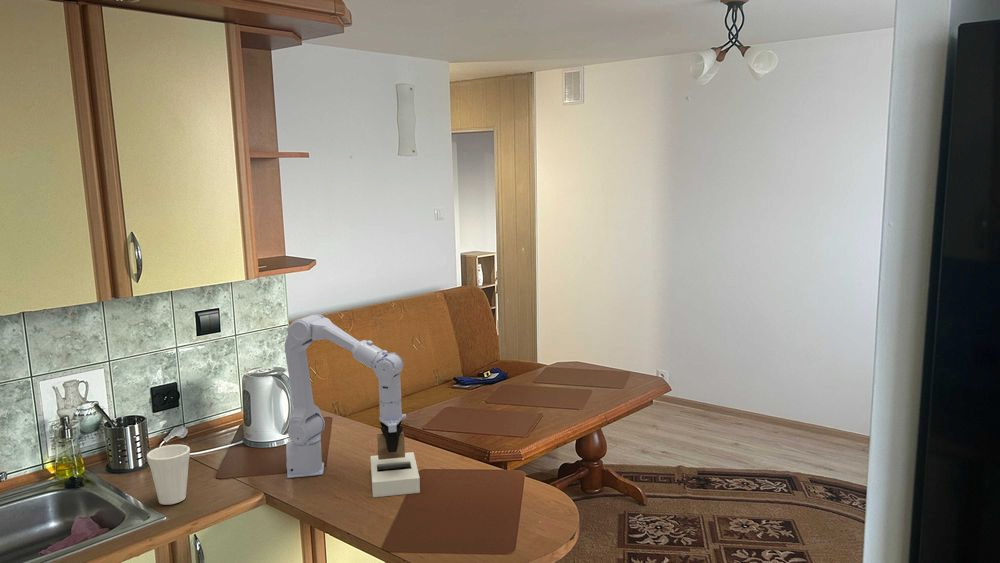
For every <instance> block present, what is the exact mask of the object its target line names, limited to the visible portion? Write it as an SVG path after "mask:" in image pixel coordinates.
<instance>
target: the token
mask: <svg viewBox="0 0 1000 563" xmlns="http://www.w3.org/2000/svg"><path fill="white" fill-rule="evenodd" d="M376 436H377V437H376V438H377V455H378V460H381V459H392V458H403V457H405V453H406V450H405V448H406V447H405V432H404V431H402V432H401V434H400V436H399V440H398V447H397V451H396V452H388V449H387V444H386V440H385V437H384V435H383V433H377V434H376Z"/></svg>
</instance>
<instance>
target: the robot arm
mask: <svg viewBox="0 0 1000 563" xmlns="http://www.w3.org/2000/svg"><path fill="white" fill-rule="evenodd" d="M286 332H287V334H286V339H285V342H284V354H285V361H286V366H287V372H288V378H289V379H288V380H289V385H290V386H289V387H290V392H291V399H292V406H293V408H292V409H293V410H292V411H291V414H290V416H289V418H288V421H289V423H288V424H289V426H288V429H287V436H288V438H289V440H290V441H287V442H286V448H285V453H286V454H285V456H286V464H285V465H286V466H285V467H286V474H287V475H286V478H287V479H291V478H303V477H304V478H305V477H313V476H322V475H323V474H324V468H325V462H323V460H322V457H323V456H322V442H321V441H322V438H321V437H322V432H323V431H324V429H325V428H326V427H325V426H326V424H325V423H326V422H325V419H324V417H323V415H322V414H321V409H320V407H318V406H317V405H316V404H315V402H314V395H313V389H312V382H311V376H310V369H309V362H308V356H307V349H308V347H309V346H310V345H311V344H312V343H313V342H314V341H320V340H321V341H322V340H327V341H329V342H331V343H333V344H335V345H337V346H339V347H341V348H343V349H345V350H347V351H349V352H351V354H352V357H353V359H355V361H357V362H359V363H361V364H363V365H364V366H366V367H367V368H369V369H371V370H373V373H374V374H375V376H376V377H377V379H378V393H379V395H378V397H379V400H378V401H379V402H378V403H379V418H378V419H379V421H380V422H379V424H380V431H381V434H383V435H384V437H385V440H386V444H387V449H388V452H396V451H397V447H398V440H399V436H400V434H401V432H403V428H404V427H403V426H402V425H401V424H402V420H403V419H406V418H407V414H406V413H403V411H402V410H403V409H402V386H401V385H402V384H401V383H402V382H401V381H402V380H401V372H402V371H403V369H404V364H405V363H404V361H403V357H401V356H400V355H399V354H398V353H397V352H389V351H388V350H386V349H382V348H380V347H378V346H377V345H375V344H374V342H373V341H372V340H371V339H370V340H367V339H363V340H358V339H357V338H355V337H353V336H352V335H351V334H349V333H347V331H344V330H343V329H341V328H340V327H339V326H337V325H336V324H334V323H333V322H332V321H331V319H330V318H328V317H324V315H322V314H320V313H311V314H310V315H308V316H305V317H302V318H298V319H295V320H293V321H292V322H291V323H290V324H289V325H288V326H287V327H286Z"/></svg>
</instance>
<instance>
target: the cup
mask: <svg viewBox="0 0 1000 563" xmlns="http://www.w3.org/2000/svg"><path fill="white" fill-rule="evenodd" d="M190 454H191V448H190V446H188V445H186V444H168V445H163V446H159V447H156V448H154V449H151V450H149V452H147V454H146V460H147V463H148V465H149V467H150V471H151V475H152V479H153V484H154V488H155V492H156V496H157V499H158V503H159V504H160V505H174V504H177V503H180V502H182V501H184V500H185V499H186V496H187V487H188V473H189V461H190V458H191V455H190Z"/></svg>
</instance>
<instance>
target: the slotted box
mask: <svg viewBox="0 0 1000 563" xmlns="http://www.w3.org/2000/svg"><path fill="white" fill-rule="evenodd" d="M400 468H403V469H400ZM389 469H390V470H389ZM393 469H394V470H393ZM380 470H383V471H380ZM370 473H371V490H372V498H380V497H390V496H398V495H399V496H400V495H410V494H420V493H421V486H420V485H421V483H420V480H421V478H420V474H419V469H418V466H417V462H416V457H415V452H412V451H411V452H410V451H409V452H405V457H403V458H392V459H381V460H378V454H377V455H370Z"/></svg>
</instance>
